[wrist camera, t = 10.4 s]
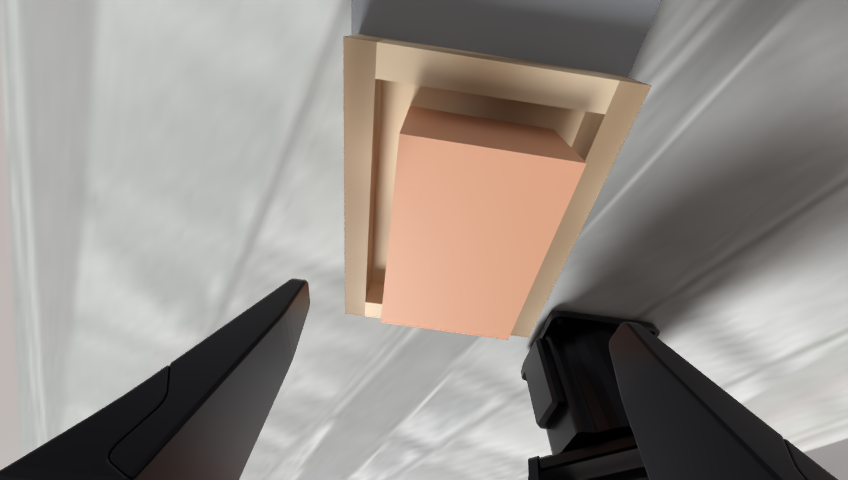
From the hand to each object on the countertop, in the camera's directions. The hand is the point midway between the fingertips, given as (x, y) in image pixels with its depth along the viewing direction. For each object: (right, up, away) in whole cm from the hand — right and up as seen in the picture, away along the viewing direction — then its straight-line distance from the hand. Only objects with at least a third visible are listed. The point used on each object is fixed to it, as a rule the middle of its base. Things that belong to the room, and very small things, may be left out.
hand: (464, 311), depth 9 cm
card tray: (0, +4, +6) cm, 7 cm away
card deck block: (+1, +3, +5) cm, 6 cm away
